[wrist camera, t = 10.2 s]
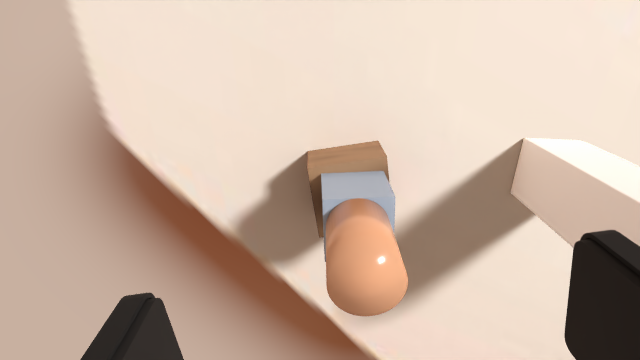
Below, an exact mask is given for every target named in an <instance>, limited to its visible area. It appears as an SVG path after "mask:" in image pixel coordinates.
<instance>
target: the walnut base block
mask: <svg viewBox="0 0 640 360" xmlns="http://www.w3.org/2000/svg"><path fill="white" fill-rule="evenodd" d="M307 170H308V176H309V182H310V187H311V193H312V199H313V204H314V210H315V216H316V221H317V227H318V233H319V237H324V232H323V208H322V184H321V174H322V173H345V172H369V171H384V173H385V175H386V177H387V180H388V182H389V174H388V164H387V156H386V154H385V152H384V150H383V149H382V147H381V145H380V143H379V141H372V142H366V143H359V144H352V145H346V146H339V147H333V148H326V149H319V150H313V151H308V158H307Z"/></svg>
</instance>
